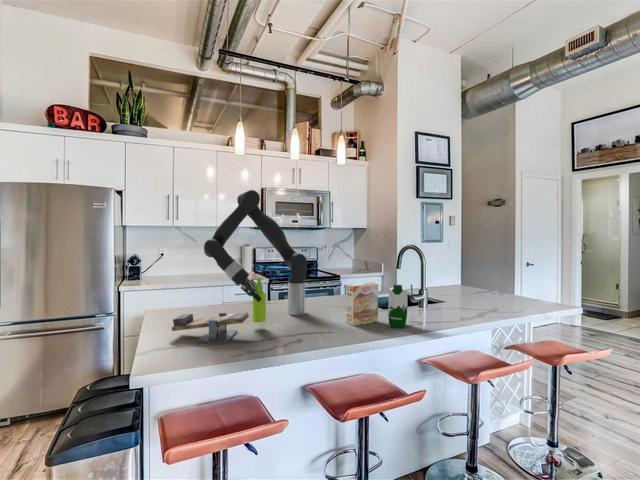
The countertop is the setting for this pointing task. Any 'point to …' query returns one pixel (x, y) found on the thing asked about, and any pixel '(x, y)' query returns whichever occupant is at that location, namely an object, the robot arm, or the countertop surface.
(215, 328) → the seesaw stand
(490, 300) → the countertop surface
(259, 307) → the soap dispenser
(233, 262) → the robot arm
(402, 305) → the milk carton
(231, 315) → the seesaw board
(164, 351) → the countertop surface
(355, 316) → the coffeecake box
